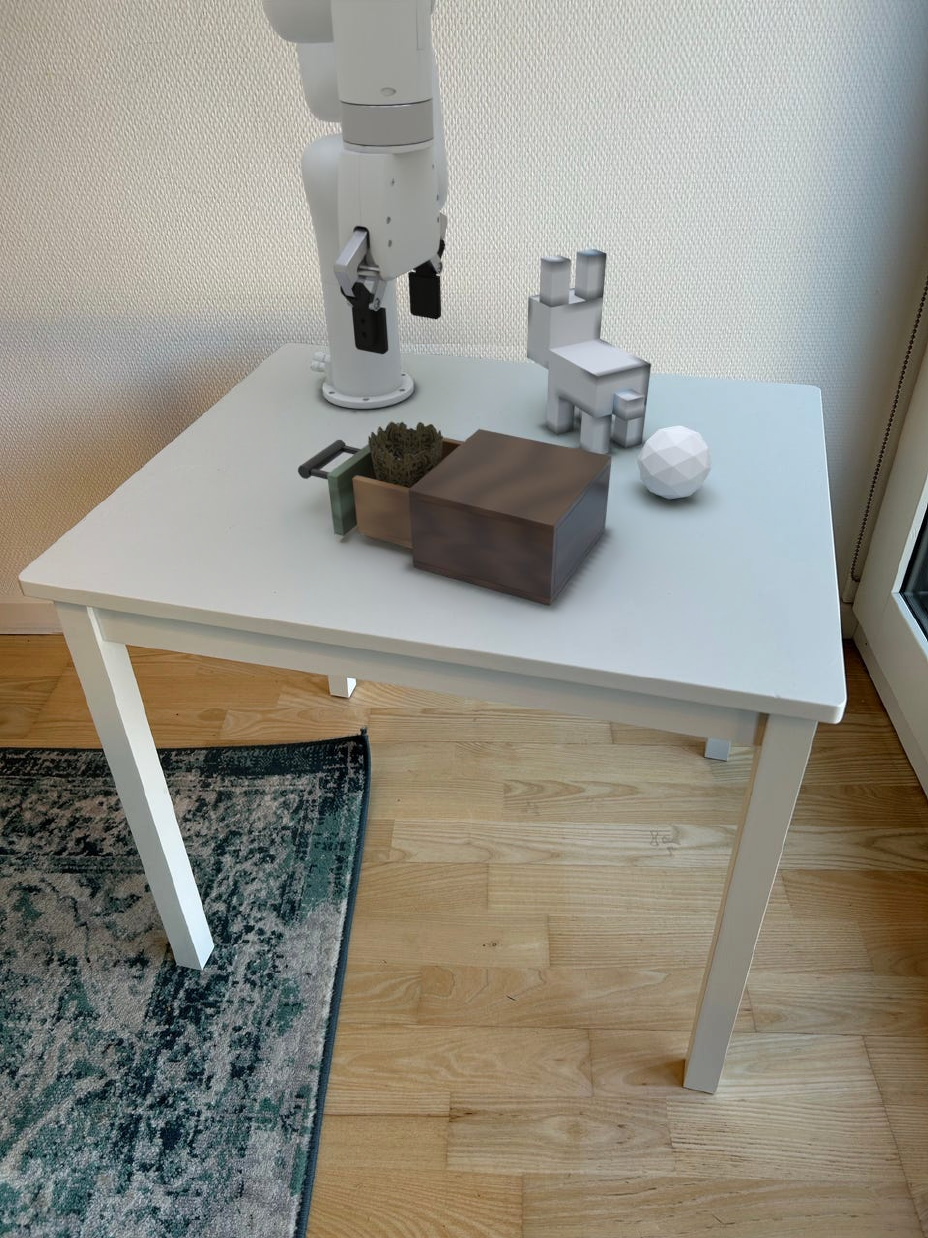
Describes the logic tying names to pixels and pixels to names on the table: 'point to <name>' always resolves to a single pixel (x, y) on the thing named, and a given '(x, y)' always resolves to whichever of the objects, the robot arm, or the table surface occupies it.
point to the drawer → (365, 493)
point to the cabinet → (510, 514)
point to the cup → (405, 453)
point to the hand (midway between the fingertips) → (400, 332)
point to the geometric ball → (674, 462)
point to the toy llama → (584, 356)
